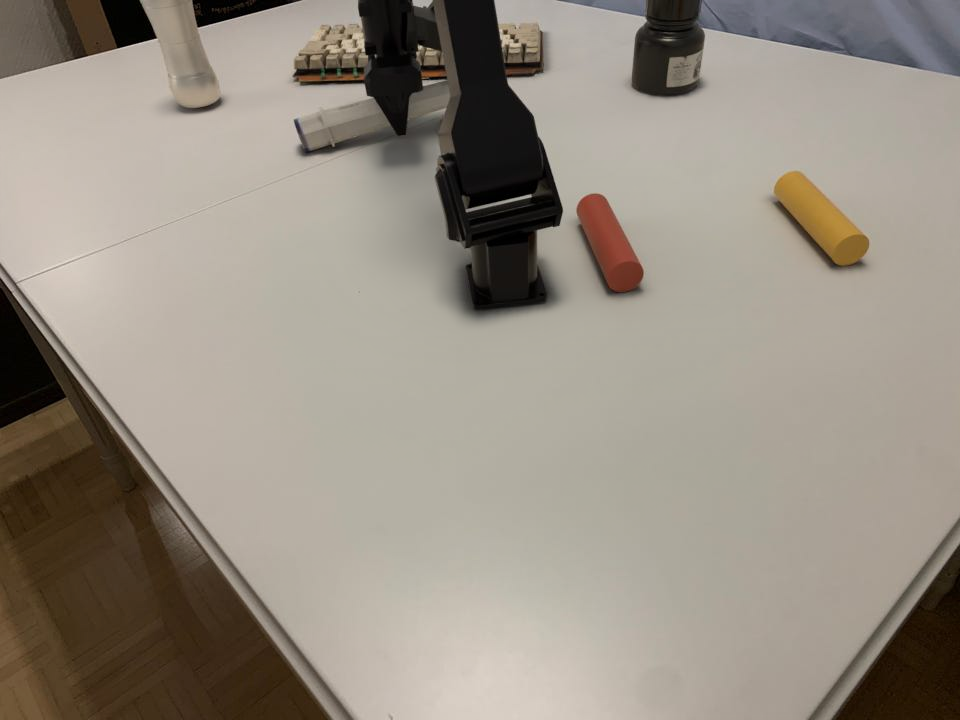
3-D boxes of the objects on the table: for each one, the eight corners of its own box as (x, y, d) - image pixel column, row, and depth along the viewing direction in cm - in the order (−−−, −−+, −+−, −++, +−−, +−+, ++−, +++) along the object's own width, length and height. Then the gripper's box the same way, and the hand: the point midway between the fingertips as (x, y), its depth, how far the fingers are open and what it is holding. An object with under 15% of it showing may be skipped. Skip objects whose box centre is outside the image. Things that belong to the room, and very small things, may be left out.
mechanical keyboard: (542, 33, 115) (542, 10, 113) (544, 76, 101) (544, 52, 99) (315, 44, 118) (311, 22, 116) (286, 88, 104) (280, 64, 102)
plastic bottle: (198, 117, 97) (143, -48, 84) (167, 108, 100) (109, -52, 87) (234, 100, 101) (187, -60, 88) (203, 92, 104) (153, -64, 91)
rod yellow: (863, 263, 63) (874, 232, 61) (828, 267, 63) (838, 236, 60) (801, 198, 72) (809, 169, 70) (770, 201, 72) (777, 172, 69)
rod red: (642, 289, 62) (645, 259, 60) (606, 294, 62) (608, 263, 59) (607, 220, 71) (609, 191, 69) (575, 224, 71) (576, 194, 68)
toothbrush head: (291, 111, 86) (484, 51, 88) (310, 160, 91) (494, 102, 93) (294, 127, 83) (496, 64, 84) (314, 178, 87) (506, 117, 89)
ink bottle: (683, 101, 91) (697, 1, 83) (619, 91, 95) (626, -6, 87) (707, 76, 97) (722, -20, 89) (646, 67, 101) (655, -26, 93)
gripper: (463, 5, 72) (473, 150, 82) (447, -38, 86) (457, 91, 96) (353, 15, 71) (377, 161, 81) (355, -30, 85) (375, 99, 95)
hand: (401, 125), depth 88 cm, fingers open, 6 cm apart
